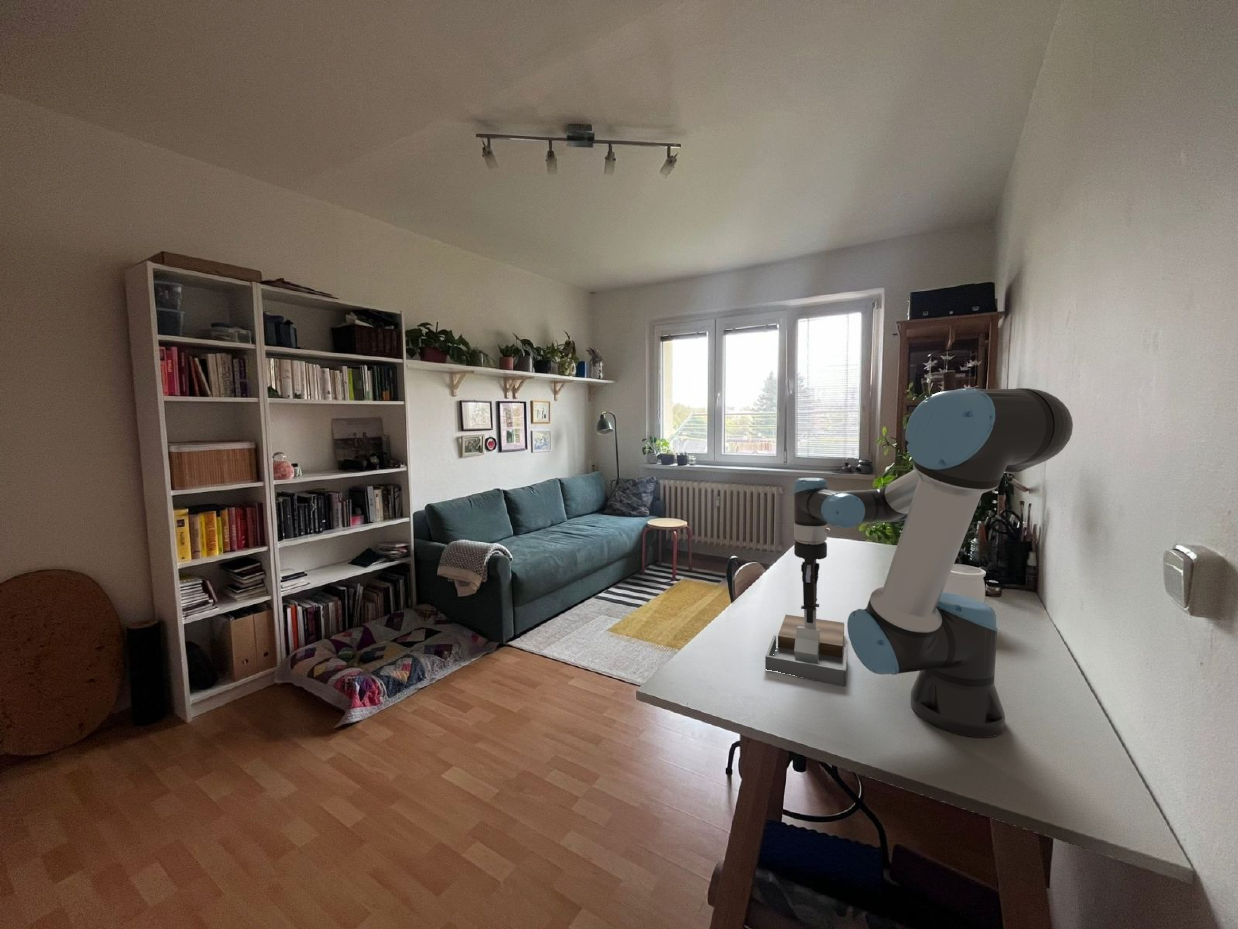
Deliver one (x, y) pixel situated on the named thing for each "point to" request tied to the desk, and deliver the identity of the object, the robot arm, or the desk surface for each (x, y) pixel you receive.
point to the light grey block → (806, 650)
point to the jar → (966, 582)
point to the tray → (807, 665)
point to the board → (828, 635)
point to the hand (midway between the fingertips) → (810, 633)
